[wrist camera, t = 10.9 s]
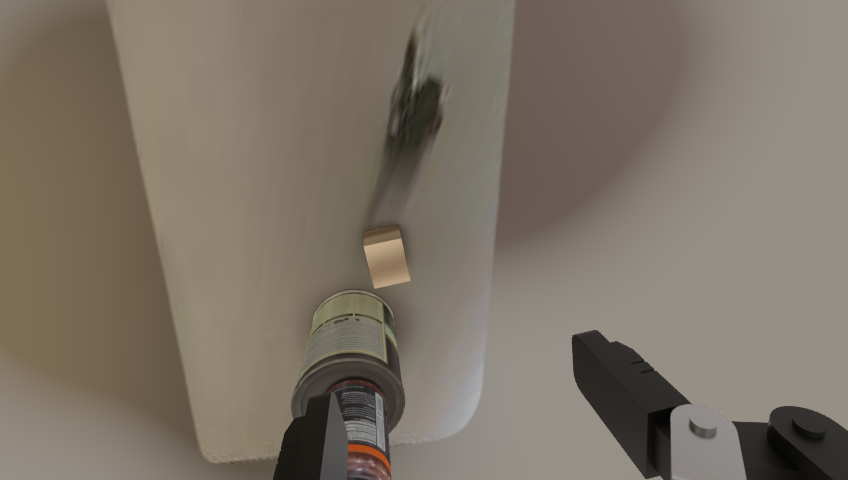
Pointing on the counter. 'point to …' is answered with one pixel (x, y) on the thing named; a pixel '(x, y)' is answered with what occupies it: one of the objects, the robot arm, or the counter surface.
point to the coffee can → (352, 351)
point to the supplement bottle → (364, 429)
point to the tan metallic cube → (385, 256)
